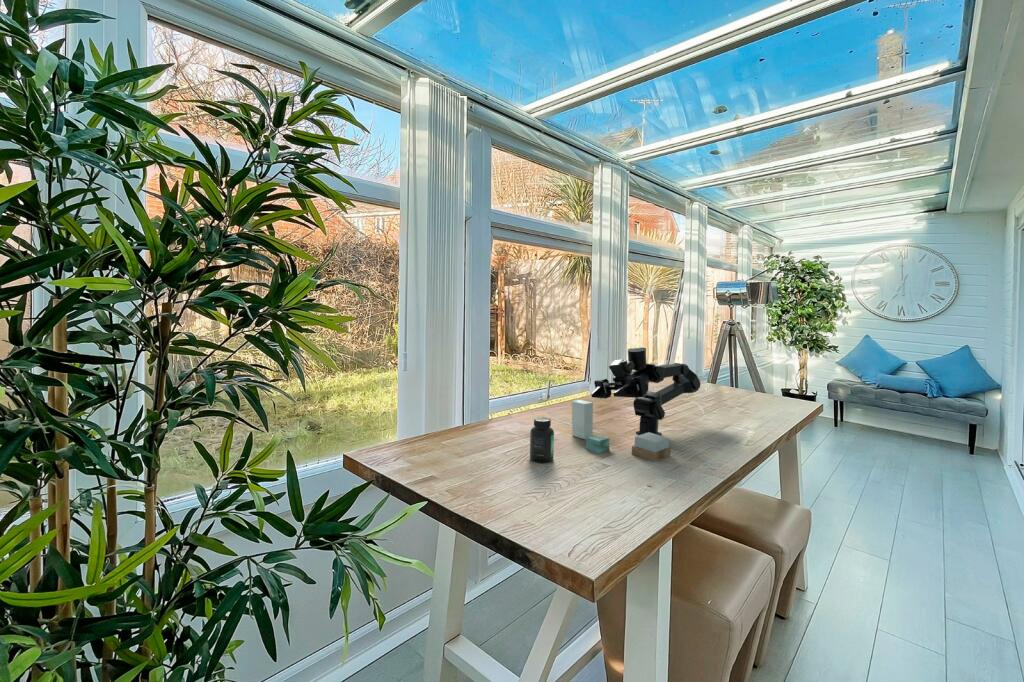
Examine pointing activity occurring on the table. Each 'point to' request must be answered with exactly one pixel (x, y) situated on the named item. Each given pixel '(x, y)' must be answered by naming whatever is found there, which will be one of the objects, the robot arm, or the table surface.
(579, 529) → the table surface
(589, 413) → the skincare box
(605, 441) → the teal cube
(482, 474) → the table surface
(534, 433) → the supplement bottle
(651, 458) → the walnut base block
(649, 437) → the slate-grey top block
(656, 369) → the robot arm
